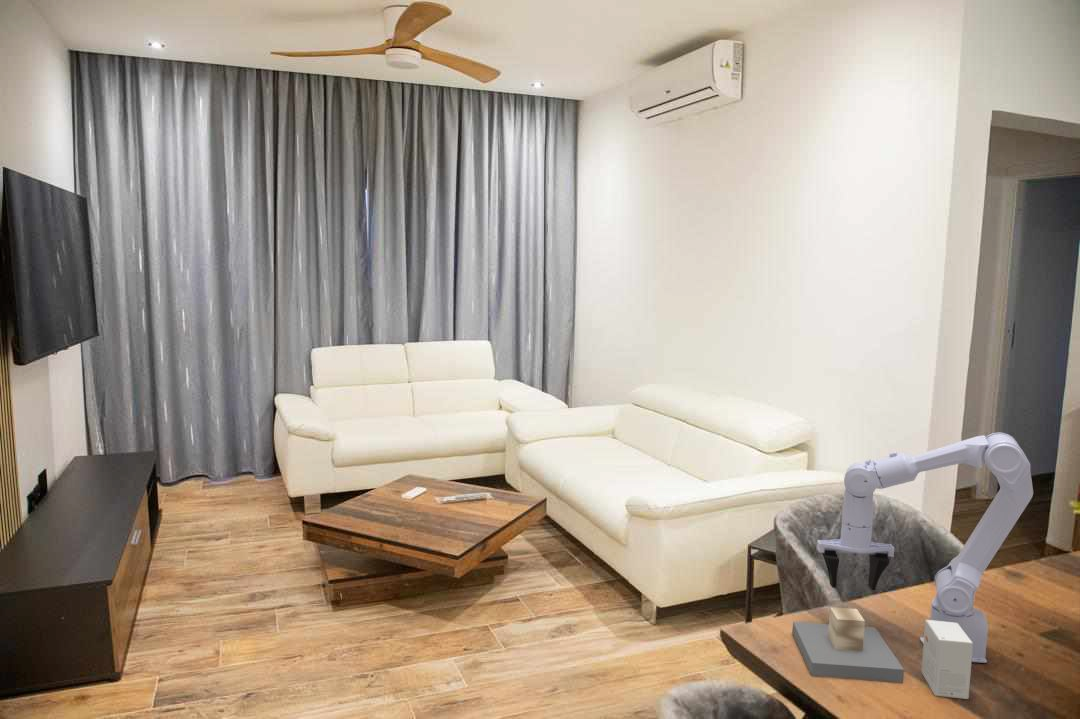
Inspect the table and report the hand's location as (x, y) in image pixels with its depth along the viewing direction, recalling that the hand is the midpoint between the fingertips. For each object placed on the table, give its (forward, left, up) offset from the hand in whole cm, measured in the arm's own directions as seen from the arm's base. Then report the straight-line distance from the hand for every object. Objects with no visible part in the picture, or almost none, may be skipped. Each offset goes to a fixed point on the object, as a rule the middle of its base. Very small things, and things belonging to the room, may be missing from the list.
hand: (852, 587), depth 153 cm
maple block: (+4, +11, -7) cm, 13 cm away
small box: (-11, +19, -10) cm, 24 cm away
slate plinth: (+4, +11, -9) cm, 15 cm away
